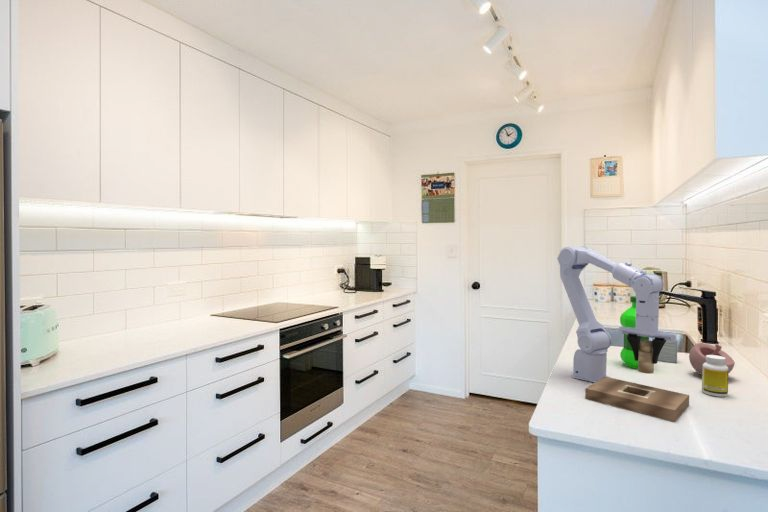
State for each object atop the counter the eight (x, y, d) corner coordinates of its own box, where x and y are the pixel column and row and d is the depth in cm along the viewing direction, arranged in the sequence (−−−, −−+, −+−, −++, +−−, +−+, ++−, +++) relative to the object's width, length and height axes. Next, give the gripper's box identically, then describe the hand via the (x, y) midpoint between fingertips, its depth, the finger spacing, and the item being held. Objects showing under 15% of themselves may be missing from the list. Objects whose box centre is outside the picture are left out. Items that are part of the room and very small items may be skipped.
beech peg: (635, 371, 128) (636, 341, 128) (640, 368, 131) (640, 338, 131) (651, 374, 125) (652, 343, 125) (655, 371, 128) (656, 341, 128)
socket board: (585, 398, 126) (585, 387, 126) (604, 386, 136) (604, 376, 136) (674, 421, 110) (674, 409, 110) (689, 405, 120) (689, 394, 120)
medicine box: (676, 360, 164) (677, 337, 163) (677, 363, 160) (677, 340, 159) (652, 357, 168) (652, 335, 167) (651, 360, 164) (652, 337, 164)
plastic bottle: (655, 372, 150) (657, 299, 149) (621, 368, 154) (622, 298, 152) (649, 363, 159) (651, 295, 158) (617, 361, 163) (618, 294, 162)
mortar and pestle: (719, 385, 137) (720, 348, 136) (680, 374, 148) (681, 340, 147) (742, 379, 142) (743, 344, 141) (702, 369, 153) (703, 337, 152)
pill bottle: (732, 398, 126) (733, 360, 125) (708, 396, 127) (709, 359, 127) (720, 390, 132) (721, 354, 131) (697, 389, 133) (698, 353, 133)
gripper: (679, 317, 125) (678, 363, 126) (624, 310, 136) (623, 354, 136) (673, 320, 120) (672, 369, 121) (616, 313, 131) (615, 358, 131)
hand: (645, 361), depth 128 cm, fingers closed on beech peg, 4 cm apart
